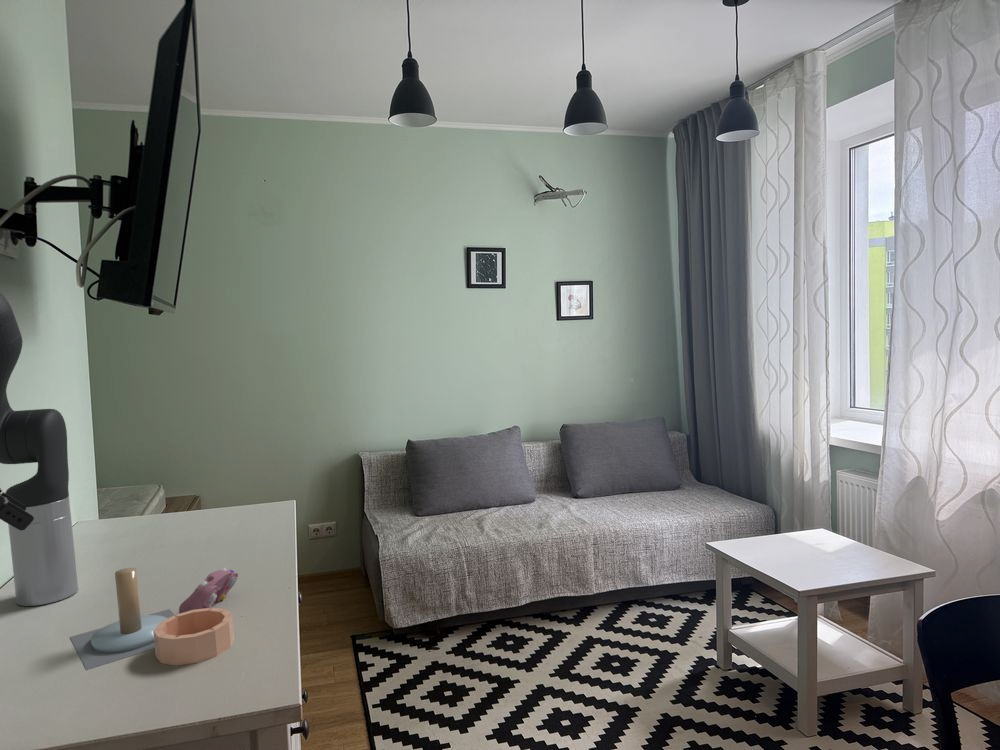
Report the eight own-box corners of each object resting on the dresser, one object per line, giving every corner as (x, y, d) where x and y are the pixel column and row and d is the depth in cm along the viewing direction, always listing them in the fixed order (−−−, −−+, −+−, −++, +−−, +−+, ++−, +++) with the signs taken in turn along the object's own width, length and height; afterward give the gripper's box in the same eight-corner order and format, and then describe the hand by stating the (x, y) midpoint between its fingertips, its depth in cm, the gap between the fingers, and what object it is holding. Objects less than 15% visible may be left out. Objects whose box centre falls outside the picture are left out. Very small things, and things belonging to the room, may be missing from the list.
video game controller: (198, 628, 110) (213, 590, 109) (174, 615, 111) (188, 577, 110) (232, 603, 120) (246, 568, 119) (210, 591, 121) (223, 556, 120)
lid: (85, 636, 105) (79, 571, 104) (160, 615, 111) (154, 554, 110) (98, 660, 97) (92, 590, 96) (178, 636, 103) (172, 570, 102)
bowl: (149, 650, 100) (146, 623, 100) (220, 627, 106) (218, 602, 106) (168, 674, 92) (165, 645, 92) (243, 649, 99) (241, 622, 98)
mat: (69, 639, 105) (69, 636, 105) (169, 611, 114) (169, 609, 114) (86, 672, 94) (86, 669, 94) (195, 638, 103) (194, 635, 103)
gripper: (-69, 428, 83) (54, 504, 91) (-70, 420, 94) (39, 488, 102) (-123, 480, 80) (8, 553, 88) (-118, 466, 91) (-2, 532, 99)
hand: (25, 518), depth 95 cm, fingers open, 8 cm apart
